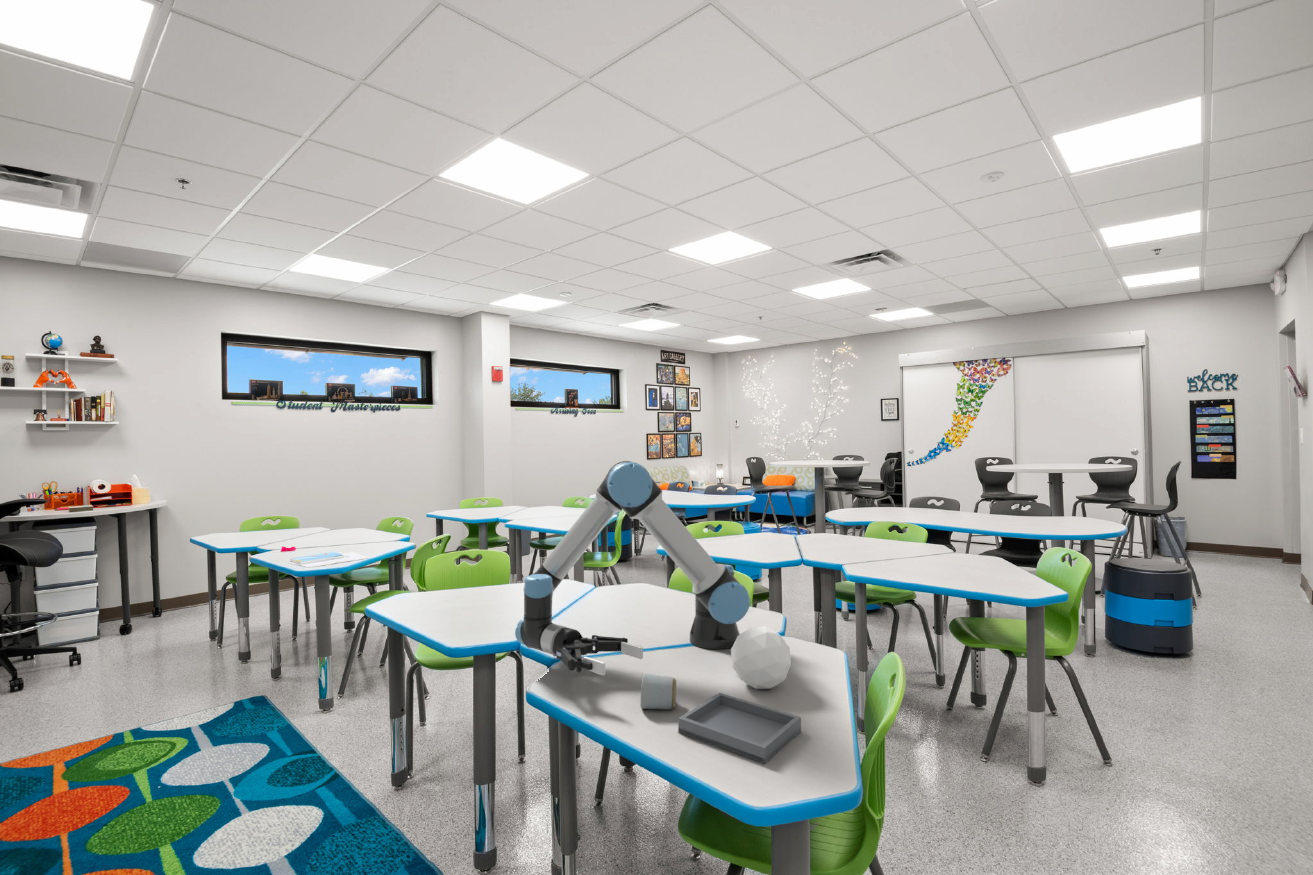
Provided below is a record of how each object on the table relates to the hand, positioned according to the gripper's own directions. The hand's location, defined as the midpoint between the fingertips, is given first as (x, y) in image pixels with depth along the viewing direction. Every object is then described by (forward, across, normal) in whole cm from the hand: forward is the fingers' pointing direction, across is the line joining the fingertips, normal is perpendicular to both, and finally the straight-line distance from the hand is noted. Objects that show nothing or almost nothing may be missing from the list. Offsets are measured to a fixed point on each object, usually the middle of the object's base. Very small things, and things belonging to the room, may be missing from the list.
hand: (623, 660), depth 144 cm
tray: (+31, -1, -8) cm, 32 cm away
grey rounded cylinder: (+10, -1, -8) cm, 13 cm away
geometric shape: (+23, -25, -8) cm, 35 cm away
